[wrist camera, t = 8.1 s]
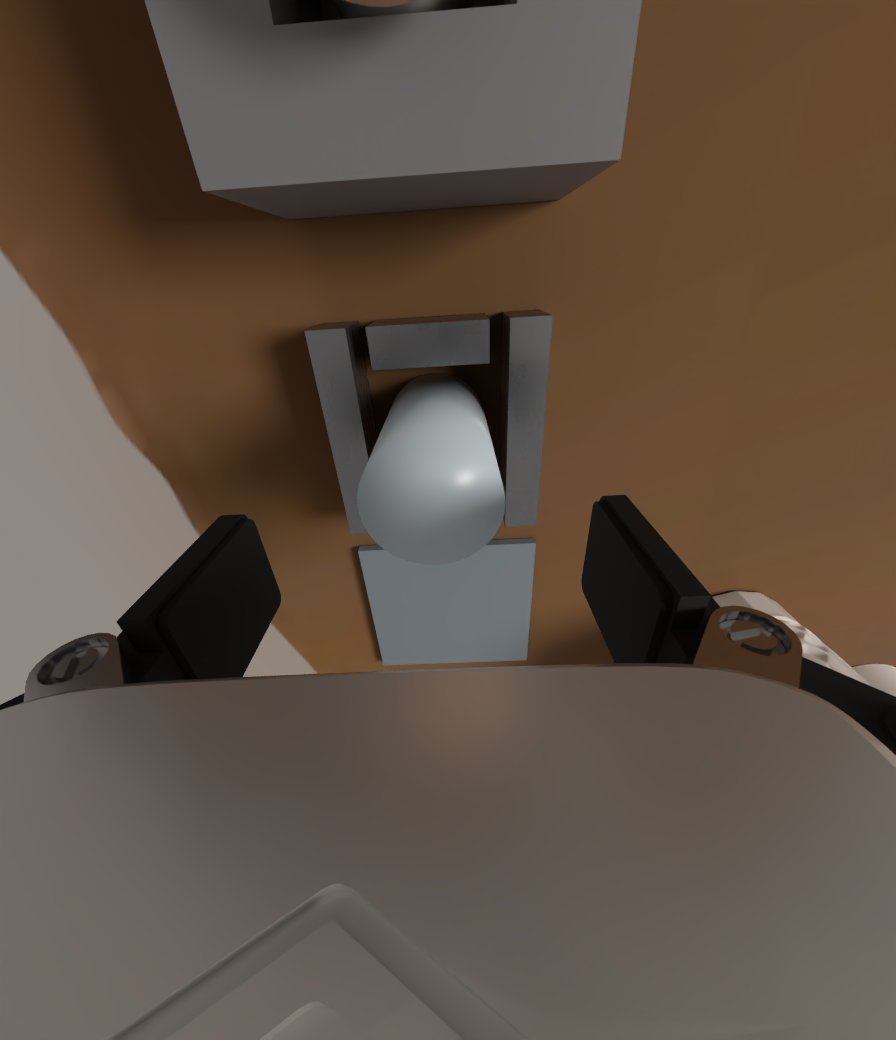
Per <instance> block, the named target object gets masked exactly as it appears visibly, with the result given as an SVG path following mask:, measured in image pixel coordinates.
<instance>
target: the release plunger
mask: <svg viewBox="0 0 896 1040" xmlns="http://www.w3.org/2000/svg"><path fill="white" fill-rule="evenodd" d="M333 1H334V4H335V6H336V8H337V11H338V13H339V15H340V17H341V19H351V18H363V17H374V16H385V15H397V14H408V13H419V12H431V11H442V10H453V9H465V8H470V6H471V3H472V0H333Z"/></svg>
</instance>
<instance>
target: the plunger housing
mask: <svg viewBox="0 0 896 1040" xmlns="http://www.w3.org/2000/svg"><path fill="white" fill-rule="evenodd" d="M641 3H642V0H472V3H471V6H470V8H465V9H453V10H442V11H431V12H419V13H408V14H397V15H385V16H374V17H363V18H351V19H341V17H340V15H339V13H338V11H337V8H336V6H335V4H334V1H333V0H145V4H146V7H147V10H148V14H149V17H150V20H151V24H152V27H153V30H154V33H155V37H156V40H157V43H158V47H159V50H160V53H161V57H162V60H163V63H164V66H165V70H166V73H167V76H168V80H169V83H170V86H171V90H172V93H173V96H174V99H175V103H176V106H177V109H178V113H179V116H180V119H181V123H182V126H183V129H184V132H185V136H186V139H187V142H188V146H189V149H190V152H191V155H192V159H193V162H194V165H195V169H196V172H197V175H198V179H199V182H200V185H201V188H202V191H203V192H206V193H209V194H212V195H215V196H219V197H222V198H225V199H228V200H231V201H234V202H237V203H240V204H243V205H246V206H249V207H252V208H255V209H258V210H261V211H264V212H267V213H270V214H273V215H276V216H279V217H282V218H285V219H288V220H289V219H302V218H316V217H330V216H344V215H358V214H372V213H386V212H399V211H413V210H427V209H441V208H455V207H469V206H482V205H496V204H510V203H524V202H538V201H552V200H560V199H561V198H563V197H565V196H566V195H568V194H569V193H571V192H572V191H574V190H575V189H577V188H578V187H580V186H581V185H583V184H584V183H586V182H587V181H589V180H590V179H592V178H593V177H595V176H596V175H598V174H600V173H601V172H603V171H604V170H606V169H607V168H609V167H610V166H612V165H613V164H615V163H616V162H618V161H619V160H620V159H621V152H622V144H623V137H624V130H625V122H626V115H627V107H628V100H629V92H630V85H631V77H632V70H633V62H634V55H635V47H636V40H637V32H638V25H639V17H640V10H641Z"/></svg>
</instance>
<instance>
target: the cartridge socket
mask: <svg viewBox="0 0 896 1040" xmlns="http://www.w3.org/2000/svg"><path fill="white" fill-rule="evenodd" d="M552 316H553V315H551V314H548V313H546V312H543V311H541V310H526V311H510V312H502V370H501V433H500V476H501V480H502V484H503V488H504V493H505V512H504V516H503V520H504V524H505V527H517V526H536V525H537V512H538V499H539V485H540V472H541V459H542V446H543V433H544V420H545V407H546V394H547V381H548V368H549V355H550V342H551V329H552ZM304 332H305V336H306V340H307V345H308V349H309V354H310V358H311V362H312V367H313V371H314V375H315V380H316V384H317V388H318V393H319V397H320V402H321V406H322V410H323V415H324V419H325V423H326V428H327V432H328V436H329V441H330V445H331V450H332V454H333V458H334V463H335V467H336V471H337V476H338V480H339V484H340V489H341V493H342V498H343V502H344V506H345V511H346V515H347V519H348V524H349V528H350V532H351V534H366V533H368V532H367V531H366V529H365V527H364V525H363V523H362V521H361V519H360V515H359V512H358V506H357V492H358V486H359V483H360V480H361V477H362V474H363V472H364V470H365V467H366V465H367V463H368V460H369V458H370V456H371V453H372V451H373V449H374V446H375V444H376V442H377V434H376V428H375V422H374V415H373V409H372V403H371V397H370V390H369V384H368V378H367V372H366V365H365V359H364V353H363V347H362V340H361V334H360V328H359V322H358V321H353V322H337V323H323V324H320V325H318V326H315V327H313V328H310V329H308V330H305V331H304ZM366 334H367V341H368V347H369V354H370V360H371V367H372V370H386V369H403V368H420V367H437V366H453V365H470V364H487V363H490V319H489V318H488V317H487V316H486V315H485V313H479V314H463V315H447V316H431V317H416V318H400V319H384V320H375V321H374V322H372V323H371V324H369V325H368V326H366Z"/></svg>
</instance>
